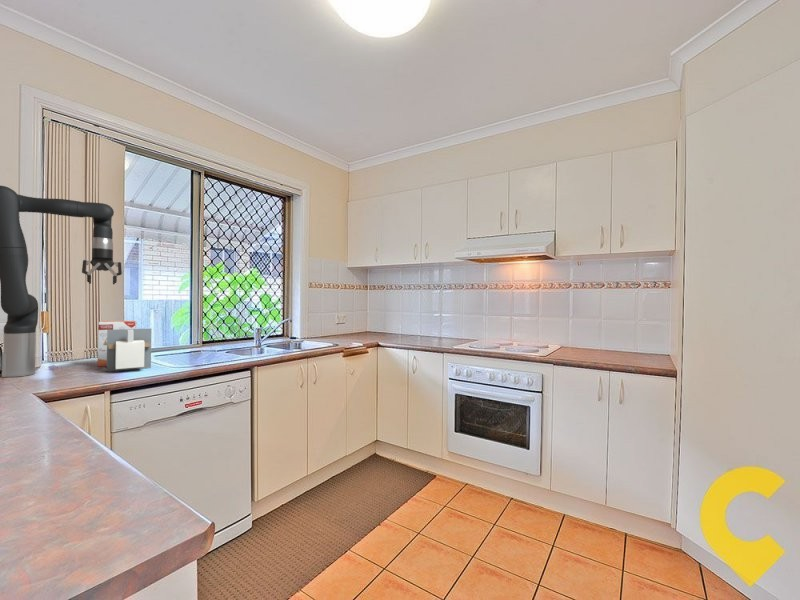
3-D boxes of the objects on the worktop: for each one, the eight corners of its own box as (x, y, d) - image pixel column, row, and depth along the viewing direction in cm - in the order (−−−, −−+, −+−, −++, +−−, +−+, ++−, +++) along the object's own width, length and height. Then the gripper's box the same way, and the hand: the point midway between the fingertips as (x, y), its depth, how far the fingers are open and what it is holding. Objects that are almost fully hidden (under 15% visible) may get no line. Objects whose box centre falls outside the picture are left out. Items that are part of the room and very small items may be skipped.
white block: (115, 369, 160) (116, 331, 159) (115, 365, 166) (115, 329, 165) (144, 366, 166) (144, 330, 165) (142, 363, 172) (143, 328, 171)
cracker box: (97, 367, 172) (97, 321, 172) (99, 365, 178) (100, 320, 177) (134, 365, 180) (135, 321, 179) (135, 363, 185) (136, 320, 185)
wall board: (106, 372, 162) (107, 330, 162) (106, 369, 168) (107, 329, 168) (151, 368, 172) (151, 329, 172) (149, 366, 178) (150, 327, 178)
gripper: (81, 246, 165) (81, 283, 166) (122, 249, 174) (121, 284, 174) (82, 247, 171) (82, 283, 172) (121, 250, 180) (121, 284, 180)
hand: (102, 283), depth 173 cm, fingers open, 8 cm apart
